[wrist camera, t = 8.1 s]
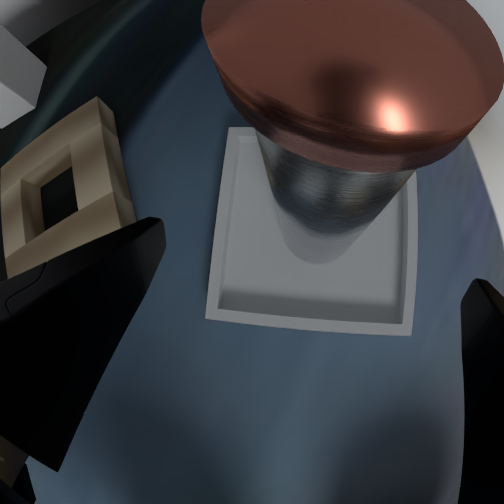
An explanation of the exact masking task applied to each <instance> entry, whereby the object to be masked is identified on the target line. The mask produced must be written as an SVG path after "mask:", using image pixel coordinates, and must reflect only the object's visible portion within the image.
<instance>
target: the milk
mask: <svg viewBox="0 0 504 504" xmlns="http://www.w3.org/2000/svg"><path fill="white" fill-rule="evenodd" d="M46 69H47V66H46V65H45V64H44V63H42V62H41V61H40V60H39V59H38V58H37V57H36V56H35V55H34V54H33V53H31V52H30V51H29V50H28V49H27V48H26V47H25V46H24V45H23V44H21V43H20V42H19V41H18V40H17V39H16V38H15V37H14V36H13V35H12V34H11V33H9V32H8V31H7V30H6V29H5V28H4V27H3V26H2V25H1V24H0V128H1V129H2V128H4V127H5V126H7V125H8V124H10V123H11V122H13V121H15V120H16V119H18V118H19V117H21V116H23V115H24V114H26V113H28V112H30V111H31V110H33V109H35V108H36V104H37V100H38V97H39V93H40V89H41V86H42V82H43V79H44V76H45V72H46Z"/></svg>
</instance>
